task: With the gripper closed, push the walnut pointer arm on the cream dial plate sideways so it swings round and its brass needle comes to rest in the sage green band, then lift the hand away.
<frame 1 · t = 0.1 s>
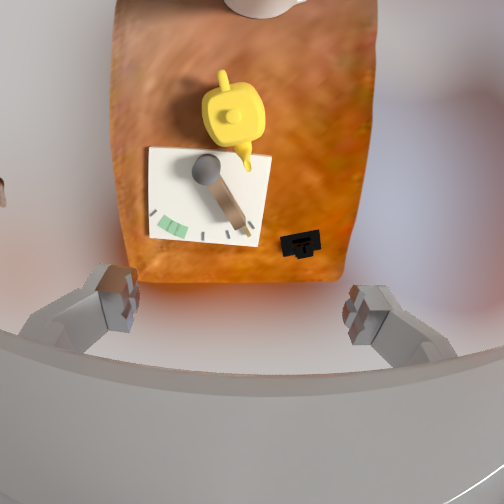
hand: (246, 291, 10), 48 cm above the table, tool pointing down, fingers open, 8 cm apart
black flanged block: (300, 241, 66), on the table
dial plate: (206, 196, 58), on the table
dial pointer: (226, 200, 54), point 4 cm above the table, hinge at 35.0°
teapot: (234, 116, 50), on the table
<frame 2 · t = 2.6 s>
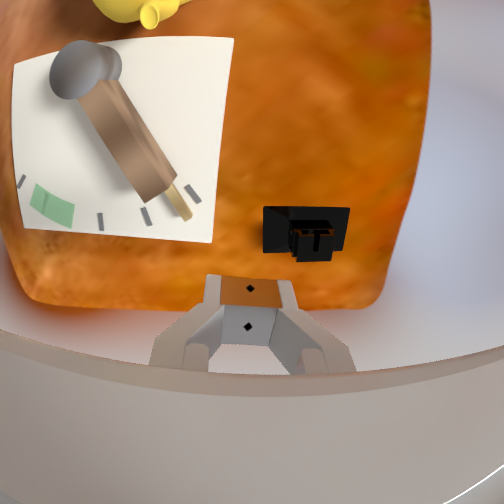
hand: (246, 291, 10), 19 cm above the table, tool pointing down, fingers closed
black flanged block: (305, 227, 31), on the table
dial plate: (103, 139, 24), on the table
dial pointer: (125, 134, 20), point 4 cm above the table, hinge at 35.0°
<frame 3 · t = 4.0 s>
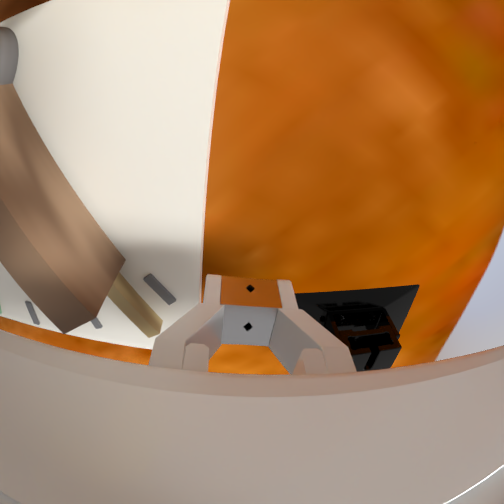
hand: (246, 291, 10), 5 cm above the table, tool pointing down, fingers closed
black flanged block: (347, 314, 19), on the table
dial plate: (13, 185, 12), on the table
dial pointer: (13, 195, 8), point 4 cm above the table, hinge at 35.0°
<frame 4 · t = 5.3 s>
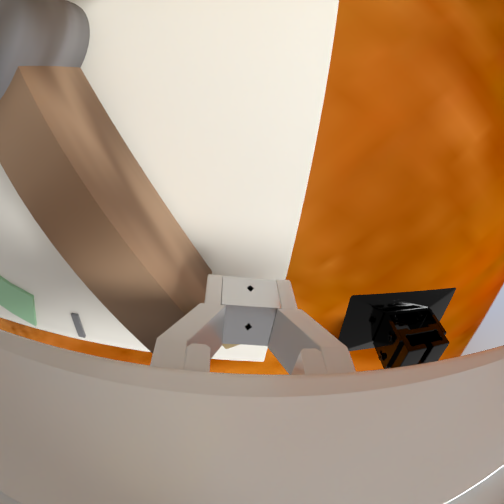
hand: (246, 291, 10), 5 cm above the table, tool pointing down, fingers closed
black flanged block: (395, 314, 19), on the table
dial plate: (63, 186, 12), on the table
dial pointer: (93, 199, 9), point 4 cm above the table, hinge at 35.0°, touching gripper
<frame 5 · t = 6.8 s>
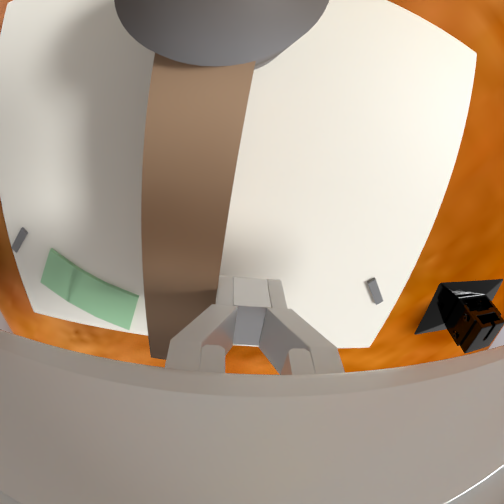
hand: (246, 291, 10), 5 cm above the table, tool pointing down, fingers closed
black flanged block: (459, 300, 20), on the table
dial plate: (207, 172, 13), on the table
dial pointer: (190, 214, 9), point 4 cm above the table, hinge at -1.4°, touching gripper
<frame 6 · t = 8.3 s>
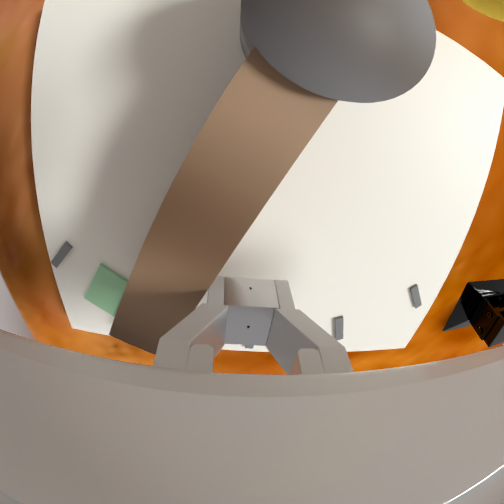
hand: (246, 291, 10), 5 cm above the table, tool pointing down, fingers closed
black flanged block: (481, 298, 20), on the table
dial plate: (273, 187, 13), on the table
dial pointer: (201, 209, 9), point 4 cm above the table, hinge at -24.0°, touching gripper
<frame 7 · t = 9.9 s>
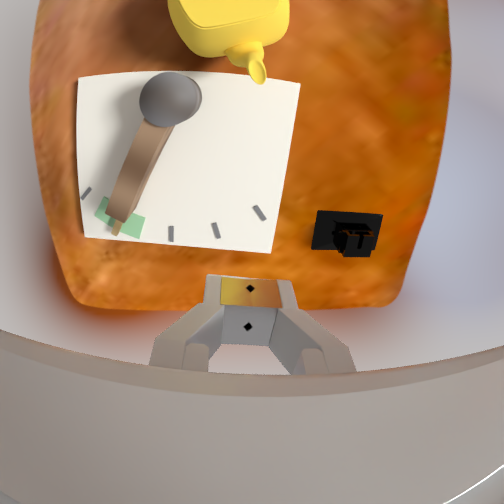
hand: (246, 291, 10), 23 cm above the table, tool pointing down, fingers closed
black flanged block: (346, 229, 36), on the table
dial plate: (176, 159, 30), on the table
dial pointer: (139, 164, 26), point 4 cm above the table, hinge at -24.1°
teapot: (230, 16, 22), on the table
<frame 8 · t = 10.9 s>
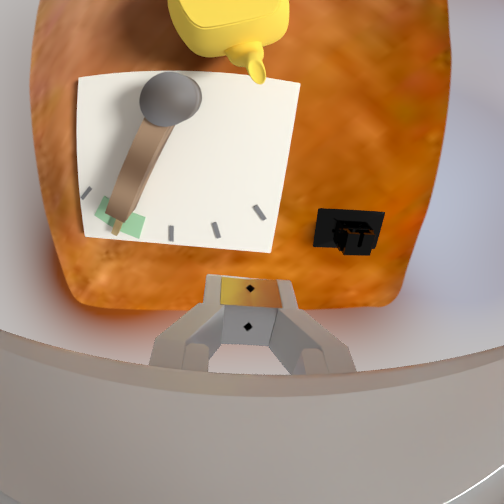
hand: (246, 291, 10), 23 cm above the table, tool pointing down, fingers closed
black flanged block: (347, 227, 36), on the table
dial plate: (176, 159, 30), on the table
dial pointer: (139, 164, 26), point 4 cm above the table, hinge at -24.1°
teapot: (230, 16, 22), on the table
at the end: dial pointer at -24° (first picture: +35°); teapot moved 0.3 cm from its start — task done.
